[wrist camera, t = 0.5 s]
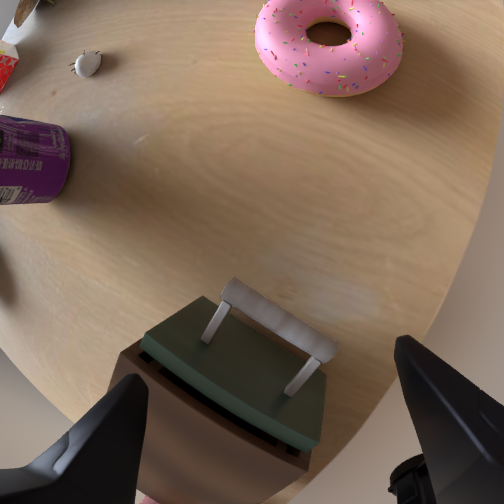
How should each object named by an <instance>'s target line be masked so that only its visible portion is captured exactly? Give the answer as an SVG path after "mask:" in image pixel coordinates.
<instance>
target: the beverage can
mask: <svg viewBox="0 0 504 504" xmlns="http://www.w3.org/2000/svg"><path fill="white" fill-rule="evenodd" d="M69 163H70V142H69V138H68V135H67V133H66V131H65V130H64V129H63V128H62V127H61V126H58V125H53V124H49V123H44V122H39V121H33V120H28V119H23V118H17V117H11V116H5V115H0V205H9V204H30V203H48V202H50V201H52V200H53V199H54V198H55V197H56V196H57V195H58V194H59V192H60V191H61V189H62V187H63V185H64V182H65V180H66V177H67V173H68V169H69Z"/></svg>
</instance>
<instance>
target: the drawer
mask: <svg viewBox="0 0 504 504" xmlns="http://www.w3.org/2000/svg"><path fill="white" fill-rule="evenodd" d="M220 297H221V298H222V299H224V300H223V301H222V303H221V304H220V306H217V305H216V304H214V303H213V302H211V301H210V300H208V299H207V298H206V297H204V296H201V297H200V298H198V299H197V300H195V301H193V302H192V303H190V304H189V305H187V306H186V307H184V308H183V309H181V310H180V311H178V312H176V313H175V314H173V315H172V316H170V317H169V318H167V319H166V320H164V321H162V322H161V323H159V324H158V325H156V326H155V327H153V328H152V329H150V330H148V331H147V332H145V334H144V337H143V339H142V342H141V344H140V348H142V349H143V350H144V351H145V352H147V353H148V354H149V355H150V356H152V357H153V358H154V360H153V361H151V362H150V363H149V365H150V366H151V367H152V368H154V369H155V370H156V371H158V372H159V373H160V374H162V375H163V376H164V377H165V378H167V379H168V380H170V381H171V382H172V383H174V384H175V385H176V386H178V387H179V388H180V389H182V390H183V391H185V392H186V393H188V394H189V395H190V396H192V397H193V398H195V399H196V400H198V401H199V402H201V403H202V404H204V405H205V406H207V407H208V408H210V409H211V410H213V411H214V412H216V413H218V414H219V415H221V416H222V417H224V418H226V419H227V420H229V421H230V422H232V423H234V424H235V425H237V426H239V427H241V428H242V429H244V430H246V431H247V432H249V433H251V434H253V435H255V436H256V437H258V438H260V439H262V440H264V441H265V442H267V443H269V444H271V445H273V446H275V447H277V448H279V449H281V450H283V451H285V452H286V450H287V446H288V444H289V445H291V446H293V447H295V448H297V449H299V450H301V451H303V452H305V453H308V452H309V451H310V450H312V449H313V448H314V447H315V446H316V445H318V444H319V442H320V434H321V426H322V418H323V409H324V399H325V389H326V378H327V374H325V373H323V372H322V371H320V370H318V369H317V368H318V366H319V365H320V364H321V362H323V363H325V364H326V363H328V362H329V361H330V360H331V359H332V358H333V356H334V355H335V353H336V351H337V349H338V346H339V343H338V342H337V341H335V340H333V339H332V338H330V337H328V336H327V335H325V334H324V333H322V332H320V331H319V330H317V329H316V328H314V327H312V326H311V325H309V324H308V323H306V322H304V321H303V320H301V319H300V318H298V317H296V316H295V315H293V314H292V313H290V312H288V311H287V310H285V309H284V308H282V307H281V306H279V305H277V304H276V303H274V302H273V301H271V300H270V299H268V298H266V297H265V296H263V295H262V294H260V293H259V292H257V291H256V290H254V289H252V288H251V287H249V286H248V285H246V284H245V283H243V282H242V281H240V280H239V279H237V278H236V277H233V278H231V279H230V281H229V282H228V283H227V285H226V286H225V288H224V289H223V291H222V293H221V296H220ZM233 306H234V307H236V308H237V309H239V310H240V311H242V312H243V313H245V314H246V315H248V316H249V317H251V318H252V319H254V320H255V321H257V322H258V323H260V324H262V325H263V326H265V327H266V328H268V329H269V330H271V331H273V332H274V333H276V334H277V335H279V336H280V337H282V338H284V339H285V340H287V341H288V342H290V343H292V344H293V345H295V346H297V347H298V348H300V349H301V350H303V351H305V352H306V353H308V354H310V355H311V358H310V359H309V360H308V361H307V363H306V362H305V361H303V360H301V359H300V358H298V357H296V356H295V355H293V354H292V353H290V352H288V351H287V350H285V349H283V348H282V347H280V346H279V345H277V344H275V343H274V342H272V341H271V340H269V339H267V338H266V337H264V336H263V335H261V334H260V333H258V332H256V331H255V330H253V329H252V328H250V327H249V326H247V325H246V324H244V323H243V322H241V321H240V320H238V319H237V318H235V317H234V316H232V315H231V314H229V312H230V310H231V308H232V307H233Z"/></svg>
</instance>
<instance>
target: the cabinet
mask: <svg viewBox="0 0 504 504" xmlns="http://www.w3.org/2000/svg"><path fill="white" fill-rule="evenodd" d="M142 339H143V338H141V339H140V340H138V341H137V342H135V343H134V344H132V345H131V346H129V347H128V348H126V349H125V350H123V351H122V352H120V354H119V357H118V360H117V363H116V366H115V369H114V372H113V375H112V378H111V381H110V384H109V387H108V390H107V393H108V392H109V391H110V390H111V389H112V388H113V387H114V386H115V385H116V384H117V383H118V382H119V381H120V380H121V379H122V378H123V377H124V376H125V375H126V374H128V373H138V374H139V375H140V376H141V378H142V379H143V380H144V382H145V383H146V384H147V386H148V389H149V398H148V410H147V423H146V431H145V436H144V442H143V448H142V454H141V461H140V467H139V474H138V481H137V488H136V489H138V490H139V491H141V492H142V493H144V494H145V495H146V496H148V497H150V498H151V499H153V500H154V501H156V502H157V503H159V504H259V503H261V502H263V501H264V500H266V499H268V498H269V497H271V496H273V495H274V494H276V493H277V492H279V491H281V490H282V489H284V488H285V487H287V486H288V485H290V484H291V483H293V482H294V481H296V480H297V479H299V478H300V477H301V476H303V475H304V474H306V473H307V472H308V468H309V463H310V457H311V452H312V450H310V451H309V452H308V453H305V452H303V451H301V450H299V449H297V448H295V447H293V446H291V445H289V444H288V446H287V450H286V452H285V451H283V450H281V449H279V448H277V447H275V446H273V445H271V444H269V443H267V442H265V441H264V440H262V439H260V438H258V437H256V436H255V435H253V434H251V433H249V432H247V431H246V430H244V429H242V428H241V427H239V426H237V425H235V424H234V423H232V422H230V421H229V420H227V419H226V418H224V417H222V416H221V415H219V414H218V413H216V412H214V411H213V410H211V409H210V408H208V407H207V406H205V405H204V404H202V403H201V402H199V401H198V400H196V399H195V398H193V397H192V396H190V395H189V394H188V393H186V392H185V391H183V390H182V389H180V388H179V387H178V386H176V385H175V384H174V383H172V382H171V381H170V380H168V379H167V378H165V377H164V376H163V375H162V374H160V373H159V372H158V371H156V370H155V369H154V368H152V367H151V366H150V365H149V363H150V362H151V361H153V360H154V358H153V357H152V356H150V355H149V354H148V353H147V352H145V351H144V350H143V349H142V348H140V344H141V342H142ZM107 393H106V394H107Z"/></svg>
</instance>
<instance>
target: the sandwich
mask: <svg viewBox="0 0 504 504" xmlns="http://www.w3.org/2000/svg"><path fill="white" fill-rule="evenodd" d="M38 1H39V0H20V2H19V4H18V7H17V10H16V14H15V17H14V24H15V25H16V26H17V28H19V27H20V26H21V25H22V23H23V22H24V21H25V19H26V18H27V17H28V16H29V14H30V13H31V12H32V10H33V9H34V8H35V6H36V4H37V2H38ZM47 1H48V2H50V3H52V4H53V5H54V6H55V5H56V3H55V0H47Z"/></svg>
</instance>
